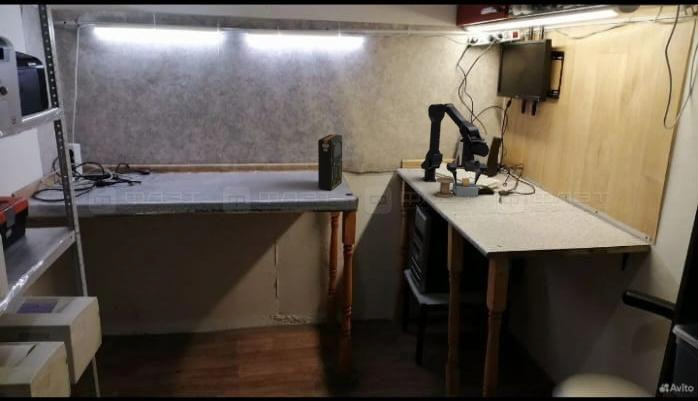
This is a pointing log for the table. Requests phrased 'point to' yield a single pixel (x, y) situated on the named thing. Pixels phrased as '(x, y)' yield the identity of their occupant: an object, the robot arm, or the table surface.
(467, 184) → the brown wooden block
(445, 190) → the tan door knob
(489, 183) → the table surface
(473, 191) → the bracket
